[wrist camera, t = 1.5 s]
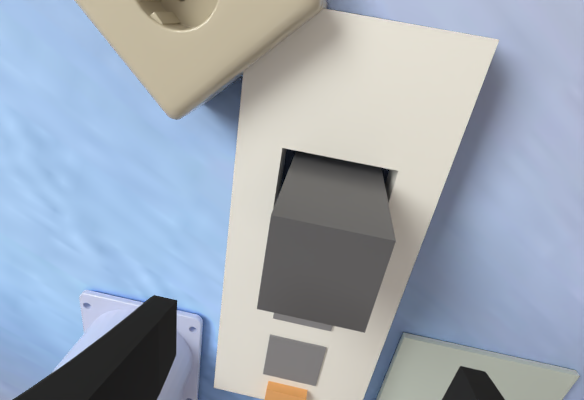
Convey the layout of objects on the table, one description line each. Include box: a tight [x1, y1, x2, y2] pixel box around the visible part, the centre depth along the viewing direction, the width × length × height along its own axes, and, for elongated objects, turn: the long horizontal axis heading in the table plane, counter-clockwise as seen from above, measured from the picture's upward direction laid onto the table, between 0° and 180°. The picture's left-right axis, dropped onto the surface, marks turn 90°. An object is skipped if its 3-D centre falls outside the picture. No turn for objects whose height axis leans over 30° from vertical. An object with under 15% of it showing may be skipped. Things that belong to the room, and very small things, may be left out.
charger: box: [257, 151, 396, 333], centre depth 16 cm, size 4×4×7 cm
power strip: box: [214, 9, 499, 400], centre depth 19 cm, size 22×9×3 cm, turn 171°
